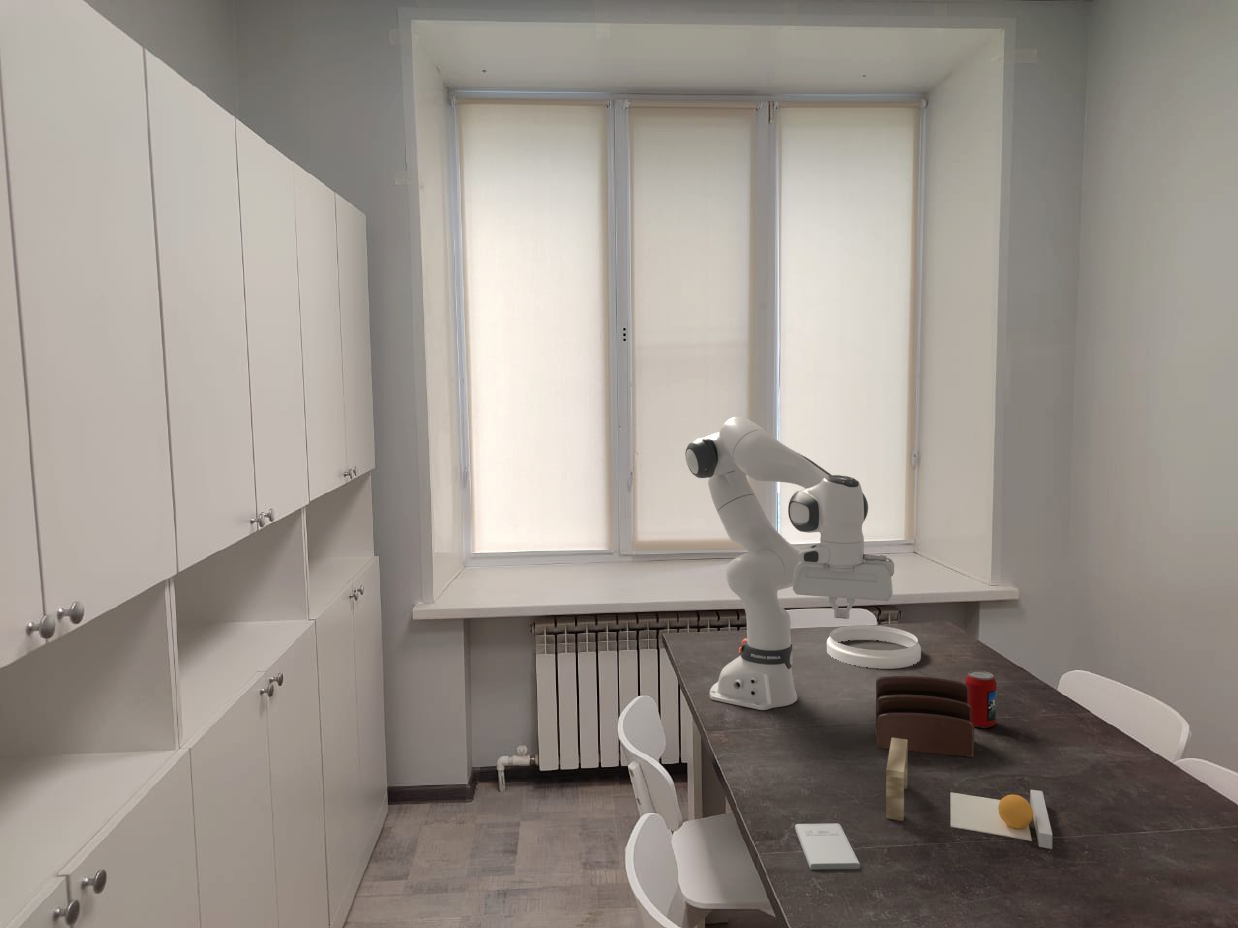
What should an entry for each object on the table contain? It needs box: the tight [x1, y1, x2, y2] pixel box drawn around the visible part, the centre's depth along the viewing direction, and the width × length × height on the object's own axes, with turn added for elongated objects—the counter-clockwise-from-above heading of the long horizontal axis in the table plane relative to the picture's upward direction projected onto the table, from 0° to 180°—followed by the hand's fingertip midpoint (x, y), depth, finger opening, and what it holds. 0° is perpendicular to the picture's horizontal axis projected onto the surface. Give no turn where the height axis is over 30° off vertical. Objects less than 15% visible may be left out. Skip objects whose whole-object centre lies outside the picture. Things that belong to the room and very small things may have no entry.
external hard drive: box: [794, 822, 861, 870], centre depth 137 cm, size 2×8×12 cm
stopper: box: [1029, 789, 1053, 850], centre depth 142 cm, size 2×16×2 cm, turn 157°
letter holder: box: [875, 675, 975, 758], centre depth 176 cm, size 10×20×14 cm, turn 73°
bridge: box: [885, 738, 908, 822], centre depth 152 cm, size 3×15×9 cm, turn 157°
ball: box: [998, 794, 1034, 828], centre depth 142 cm, size 6×6×6 cm
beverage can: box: [964, 669, 998, 729], centre depth 186 cm, size 7×7×12 cm
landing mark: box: [949, 791, 1033, 842], centre depth 146 cm, size 13×13×1 cm
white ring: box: [826, 624, 922, 670], centre depth 238 cm, size 27×27×6 cm
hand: (841, 617), depth 167 cm, fingers closed
